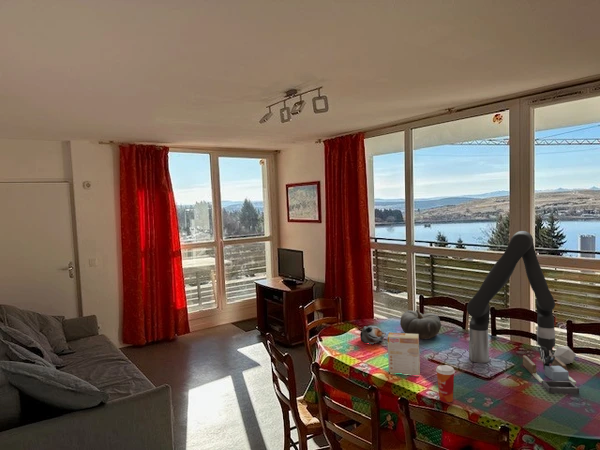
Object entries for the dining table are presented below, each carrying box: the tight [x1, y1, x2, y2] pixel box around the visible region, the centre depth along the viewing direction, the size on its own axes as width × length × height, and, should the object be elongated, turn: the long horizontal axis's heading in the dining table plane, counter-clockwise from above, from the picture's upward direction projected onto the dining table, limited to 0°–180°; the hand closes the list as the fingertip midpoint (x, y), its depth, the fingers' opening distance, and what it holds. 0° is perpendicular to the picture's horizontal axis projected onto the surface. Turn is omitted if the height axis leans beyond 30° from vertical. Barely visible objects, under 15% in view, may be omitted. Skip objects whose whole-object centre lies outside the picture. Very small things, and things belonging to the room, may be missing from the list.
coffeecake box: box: [387, 331, 421, 376], centre depth 203 cm, size 15×7×20 cm, turn 71°
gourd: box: [399, 309, 442, 340], centre depth 257 cm, size 25×25×17 cm
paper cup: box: [435, 364, 456, 403], centre depth 174 cm, size 8×8×14 cm
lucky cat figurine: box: [359, 325, 386, 345], centre depth 248 cm, size 15×12×14 cm
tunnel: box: [522, 355, 567, 376], centre depth 199 cm, size 15×12×5 cm
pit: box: [541, 380, 580, 395], centre depth 178 cm, size 12×7×2 cm, turn 81°
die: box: [552, 345, 577, 365], centre depth 206 cm, size 8×9×10 cm
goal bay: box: [532, 372, 577, 385], centre depth 189 cm, size 15×9×1 cm, turn 81°
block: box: [544, 365, 570, 381], centre depth 190 cm, size 7×7×4 cm
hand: (546, 370), depth 196 cm, fingers closed
